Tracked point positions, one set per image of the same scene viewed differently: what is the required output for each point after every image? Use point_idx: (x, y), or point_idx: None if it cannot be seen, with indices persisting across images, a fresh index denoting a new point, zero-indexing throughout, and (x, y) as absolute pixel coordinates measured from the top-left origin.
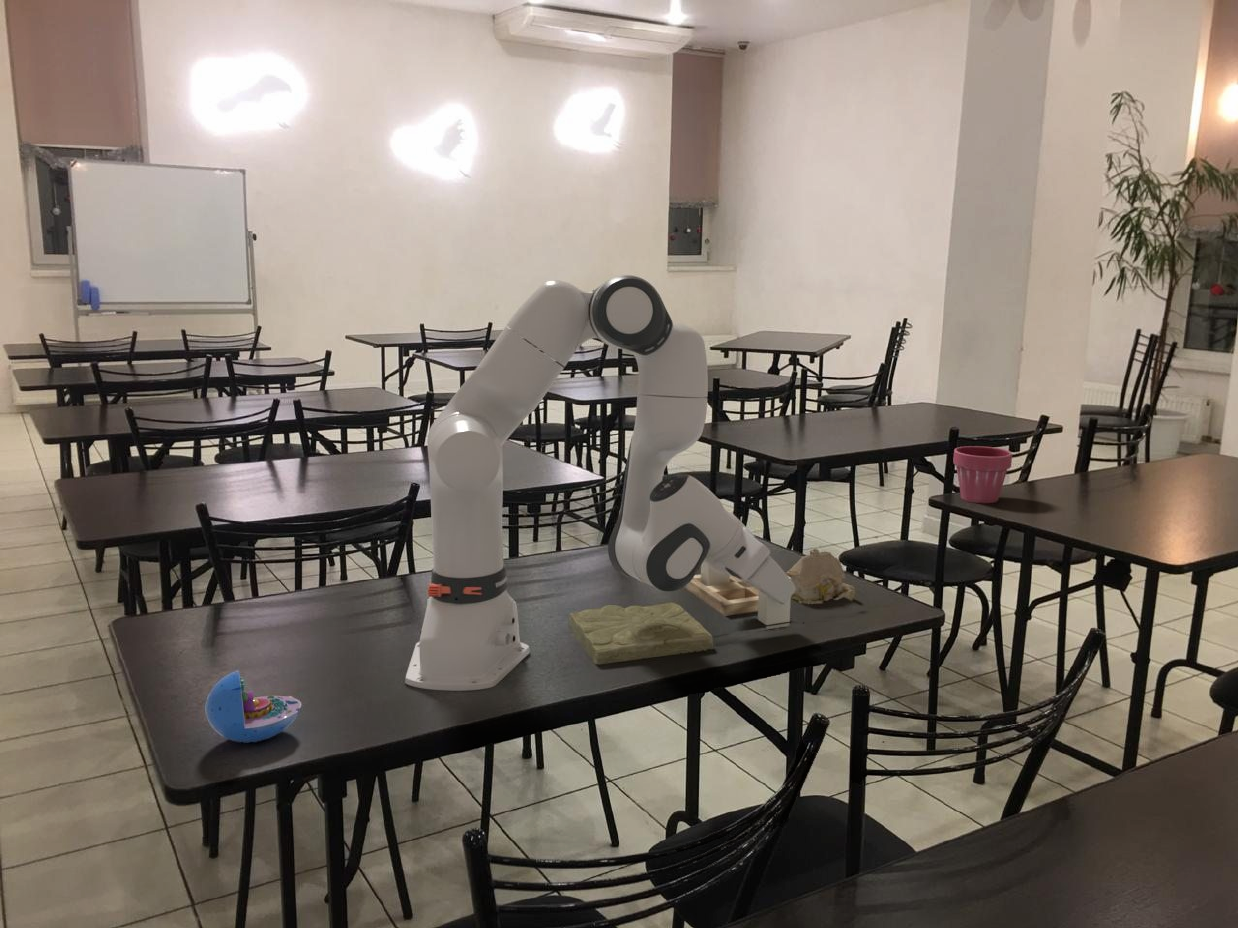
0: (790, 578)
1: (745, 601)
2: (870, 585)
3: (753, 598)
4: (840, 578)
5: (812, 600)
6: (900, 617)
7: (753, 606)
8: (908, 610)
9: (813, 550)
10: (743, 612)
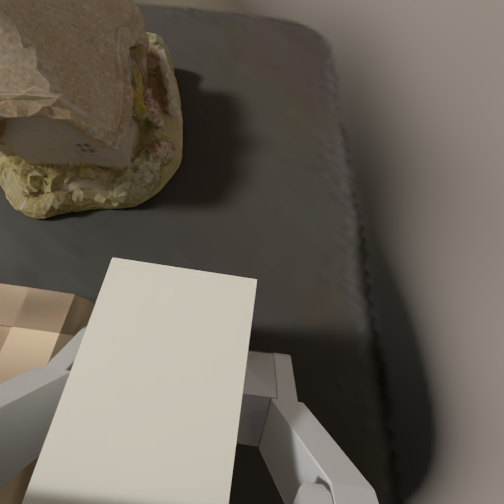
0: (255, 288)
1: None
2: None
3: (16, 372)
4: (143, 28)
5: (143, 155)
6: (303, 76)
7: None
8: (279, 45)
9: None
10: None
